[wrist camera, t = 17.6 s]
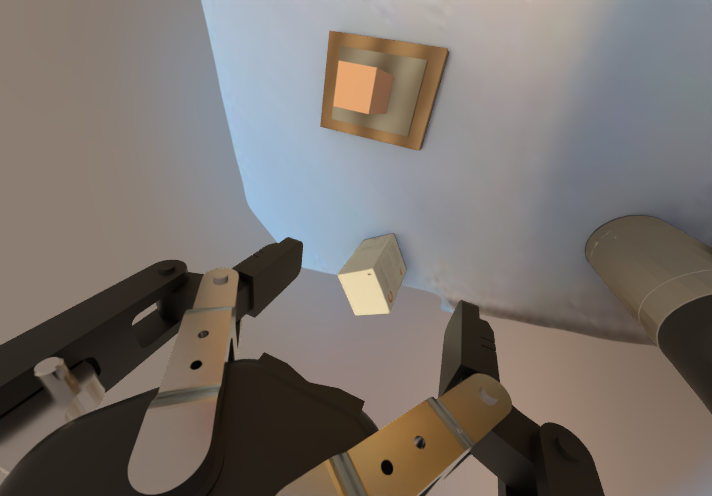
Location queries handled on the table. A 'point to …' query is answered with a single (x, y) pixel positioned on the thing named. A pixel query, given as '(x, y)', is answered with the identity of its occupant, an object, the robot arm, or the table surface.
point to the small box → (373, 275)
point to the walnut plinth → (408, 94)
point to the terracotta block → (362, 88)
